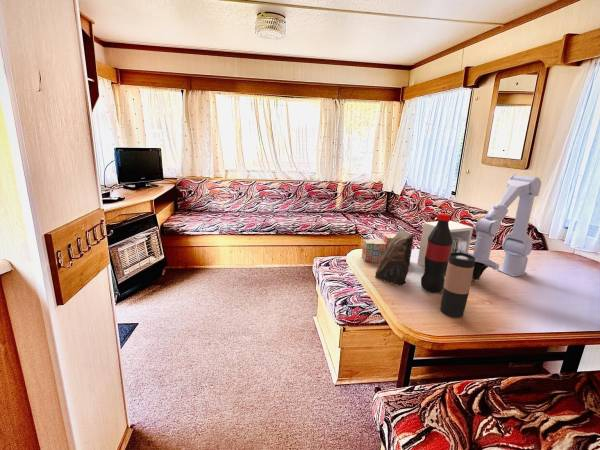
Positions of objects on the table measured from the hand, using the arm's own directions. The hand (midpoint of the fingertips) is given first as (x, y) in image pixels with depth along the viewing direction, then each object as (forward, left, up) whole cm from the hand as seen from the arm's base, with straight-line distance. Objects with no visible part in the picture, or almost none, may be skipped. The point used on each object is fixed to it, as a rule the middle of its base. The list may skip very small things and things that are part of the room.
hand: (476, 279), depth 131 cm
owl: (+32, -15, -1) cm, 35 cm away
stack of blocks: (+20, -32, -2) cm, 38 cm away
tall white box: (0, -18, -1) cm, 18 cm away
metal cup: (0, -11, -1) cm, 11 cm away
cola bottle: (+24, -1, -1) cm, 24 cm away
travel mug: (+31, +14, -1) cm, 33 cm away
